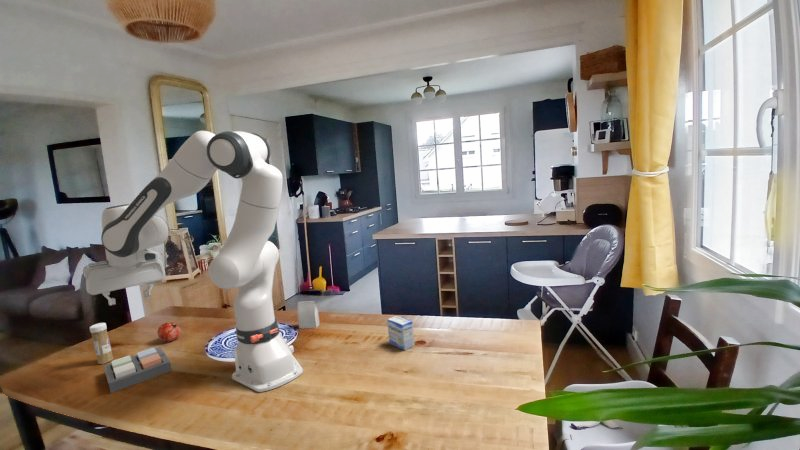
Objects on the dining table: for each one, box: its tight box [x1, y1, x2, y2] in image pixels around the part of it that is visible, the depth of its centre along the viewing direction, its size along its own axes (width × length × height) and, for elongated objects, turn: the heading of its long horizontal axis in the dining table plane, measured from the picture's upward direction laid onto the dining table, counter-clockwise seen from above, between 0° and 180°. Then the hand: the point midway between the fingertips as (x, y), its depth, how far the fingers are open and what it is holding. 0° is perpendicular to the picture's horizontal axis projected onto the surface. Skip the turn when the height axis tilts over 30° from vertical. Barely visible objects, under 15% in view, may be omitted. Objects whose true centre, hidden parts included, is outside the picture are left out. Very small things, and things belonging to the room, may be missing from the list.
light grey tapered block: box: [296, 300, 320, 330], centre depth 149 cm, size 4×7×10 cm, turn 82°
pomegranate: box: [157, 321, 181, 343], centre depth 148 cm, size 7×7×10 cm
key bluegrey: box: [136, 347, 157, 362], centre depth 129 cm, size 5×5×2 cm
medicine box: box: [386, 315, 415, 351], centre depth 127 cm, size 8×4×9 cm, turn 42°
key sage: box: [110, 354, 132, 371], centre depth 125 cm, size 5×5×2 cm
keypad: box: [103, 347, 173, 394], centre depth 125 cm, size 16×16×3 cm
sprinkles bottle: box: [89, 322, 114, 365], centre depth 134 cm, size 5×5×14 cm
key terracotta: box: [140, 354, 162, 369], centre depth 124 cm, size 5×5×2 cm
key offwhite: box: [113, 362, 136, 379], centre depth 120 cm, size 5×5×2 cm
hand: (130, 300), depth 121 cm, fingers open, 8 cm apart
